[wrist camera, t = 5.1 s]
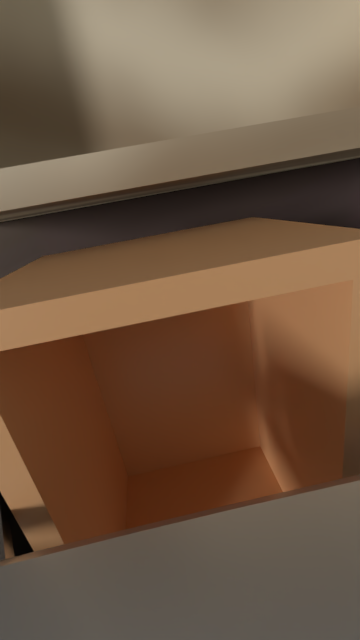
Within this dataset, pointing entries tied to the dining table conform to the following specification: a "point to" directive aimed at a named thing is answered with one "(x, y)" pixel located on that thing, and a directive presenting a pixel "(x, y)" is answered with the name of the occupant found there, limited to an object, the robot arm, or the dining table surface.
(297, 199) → the dining table surface
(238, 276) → the box
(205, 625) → the robot arm
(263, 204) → the dining table surface
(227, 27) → the big crate
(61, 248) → the dining table surface
